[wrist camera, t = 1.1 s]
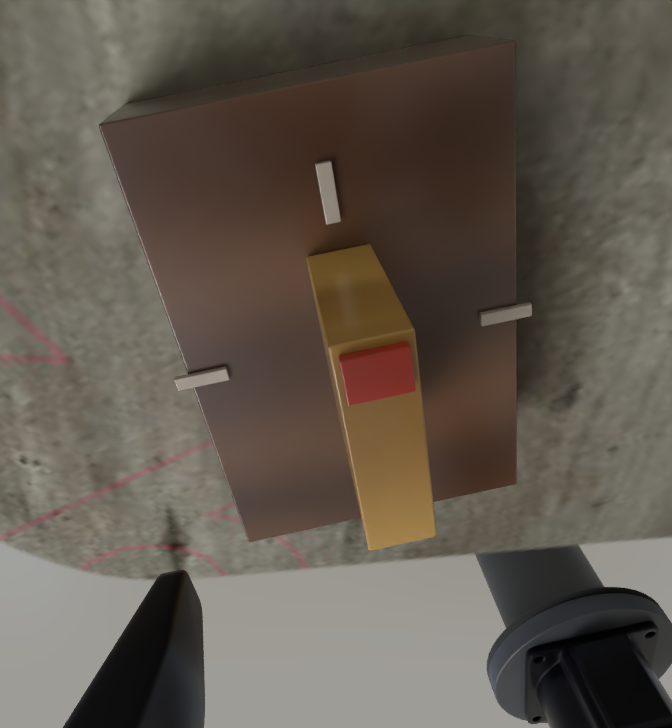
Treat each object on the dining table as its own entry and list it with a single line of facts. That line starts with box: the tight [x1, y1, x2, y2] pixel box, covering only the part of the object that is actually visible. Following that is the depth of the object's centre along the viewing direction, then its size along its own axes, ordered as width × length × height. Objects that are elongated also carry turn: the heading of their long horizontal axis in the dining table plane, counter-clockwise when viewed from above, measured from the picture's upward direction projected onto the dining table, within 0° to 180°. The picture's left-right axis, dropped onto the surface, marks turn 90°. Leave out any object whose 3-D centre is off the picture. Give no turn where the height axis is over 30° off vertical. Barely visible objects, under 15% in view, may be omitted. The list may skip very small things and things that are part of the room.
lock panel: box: [99, 35, 532, 542], centre depth 17 cm, size 13×10×3 cm
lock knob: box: [307, 244, 437, 550], centre depth 14 cm, size 6×2×5 cm, turn 10°
